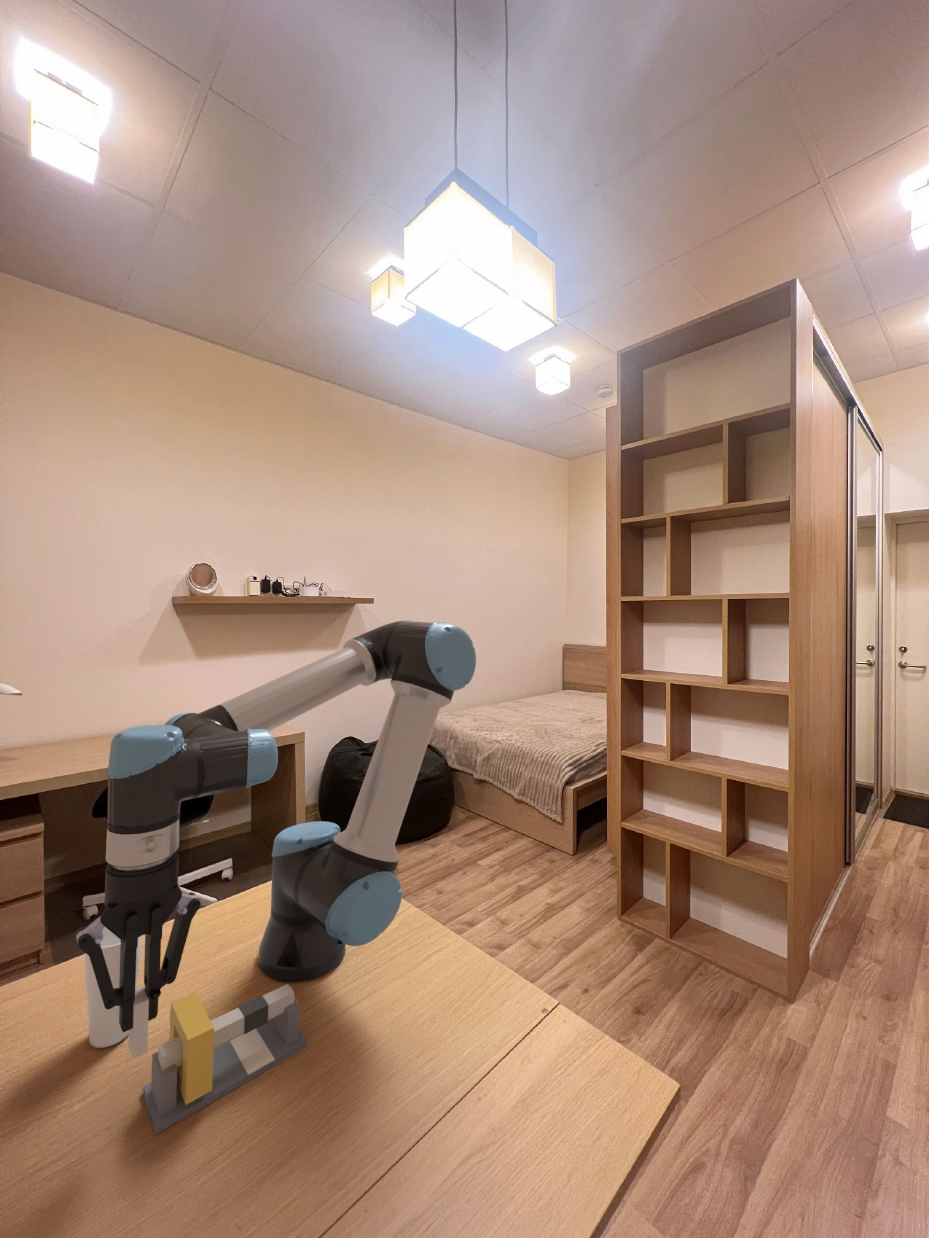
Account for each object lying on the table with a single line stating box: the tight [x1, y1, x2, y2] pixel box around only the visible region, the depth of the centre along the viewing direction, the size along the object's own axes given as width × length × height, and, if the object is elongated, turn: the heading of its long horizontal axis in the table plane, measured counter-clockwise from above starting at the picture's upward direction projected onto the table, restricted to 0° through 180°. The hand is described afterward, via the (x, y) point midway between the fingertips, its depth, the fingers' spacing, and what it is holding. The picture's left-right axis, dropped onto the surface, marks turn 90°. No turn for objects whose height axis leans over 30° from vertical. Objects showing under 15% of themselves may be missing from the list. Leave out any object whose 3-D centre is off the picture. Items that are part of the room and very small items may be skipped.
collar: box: [169, 991, 215, 1105], centre depth 67 cm, size 8×3×8 cm, turn 43°
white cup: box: [84, 927, 143, 1049], centre depth 75 cm, size 7×7×15 cm
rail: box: [142, 983, 308, 1135], centre depth 70 cm, size 7×19×7 cm, turn 133°
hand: (137, 1048), depth 63 cm, fingers closed
